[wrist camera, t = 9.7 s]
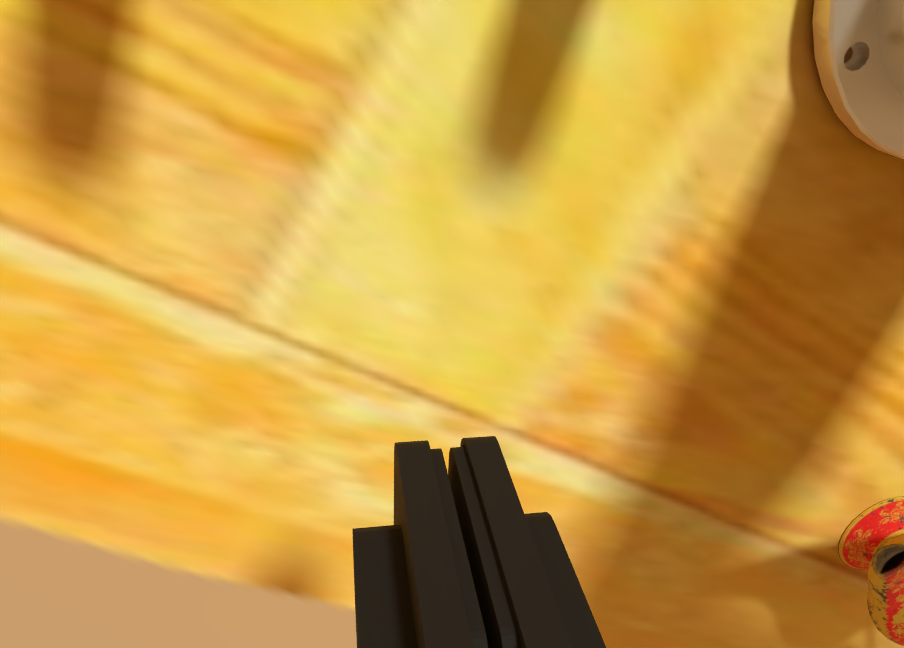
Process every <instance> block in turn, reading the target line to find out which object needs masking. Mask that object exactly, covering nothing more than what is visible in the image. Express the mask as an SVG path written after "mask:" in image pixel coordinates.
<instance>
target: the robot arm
mask: <svg viewBox="0 0 904 648" xmlns="http://www.w3.org/2000/svg"><path fill="white" fill-rule="evenodd" d="M812 22H813V39H814V55H815V61H816V64H817V68H818V72H819V76H820V80H821V84H822V88H823V90H824V92H825V94H826V96H827V98H828V100H829V102H830V104H831V106H832V108H833V110H834V112H835V113H836V115H837V117H838V118H839V119H840V120H841V121H842V122H843V123H844V124H845V126H846V127H847V128H848V129H849V130H850V131H851V132H852V133H853V134H854V136H856V137H857V138H859V139H860V140H862V141H863V142H865V143H867V144H868V145H870V146H871V147H873V148H874V149H876V150H878V151H881V152H884V153H887V154H890V155H893V156H895V157H898V158H901V159H904V0H815V1H814V10H813V19H812ZM353 557H354V585H355V610H356V632H357V648H606V646H605V644H604V641H603V639H602V637H601V634H600V632H599V629H598V627H597V624H596V622H595V620H594V617H593V615H592V612H591V610H590V607H589V605H588V603H587V600H586V598H585V595H584V593H583V591H582V588H581V586H580V583H579V581H578V578H577V576H576V574H575V571H574V569H573V566H572V564H571V561H570V559H569V557H568V554H567V552H566V549H565V547H564V544H563V542H562V540H561V537H560V535H559V532H558V530H557V528H556V525H555V523H554V521H553V519H552V517H551V515H550V514H549V513H547V512H542V513H530V514H524V512H523V509H522V507H521V504H520V501H519V498H518V496H517V493H516V490H515V487H514V485H513V482H512V479H511V476H510V474H509V471H508V468H507V465H506V463H505V460H504V457H503V454H502V452H501V449H500V446H499V443H498V441H497V439H496V437H495V436H489V437H474V438H463V439H462V440H461V446H460V447H456V448H450V452H449V468H448V473H447V469H446V465H445V461H444V457H443V453H442V450H441V449H430V446H429V442H428V441H413V442H398V443H395V447H394V525H391V526H379V527H368V528H356V529H353Z"/></svg>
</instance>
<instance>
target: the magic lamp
mask: <svg viewBox="0 0 904 648" xmlns="http://www.w3.org/2000/svg"><path fill="white" fill-rule="evenodd" d="M839 555H840V557H841V560H842V561H843V562H844V563H845V564H846V565H848V566H850V567H852V568H856V569H869V570H868V609H869V613H870V616H871V618H872V620H873V622H874V624H875V626H876V627H877V629H878V630H879V631H880V632H881V633H882V634H883V635H884V636H885V637H887V638H888V639H889V640H891V641H893V642H895V643H898V644H900V645H903V646H904V496H903V497H895V498H891V499H887V500H885V501H882V502H880V503H877V504H875V505H874V506H872V507H870V508H868V509H867V510H865V511H864V512H863V513H861V514H860V515H859V516H858V517H857V518H855V519H854V520H853V521H852V523H851V524H850V525H849V526H848V527H847V529H846V530H845V532H844V533H843V535H842V538H841V540H840V543H839Z"/></svg>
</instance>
